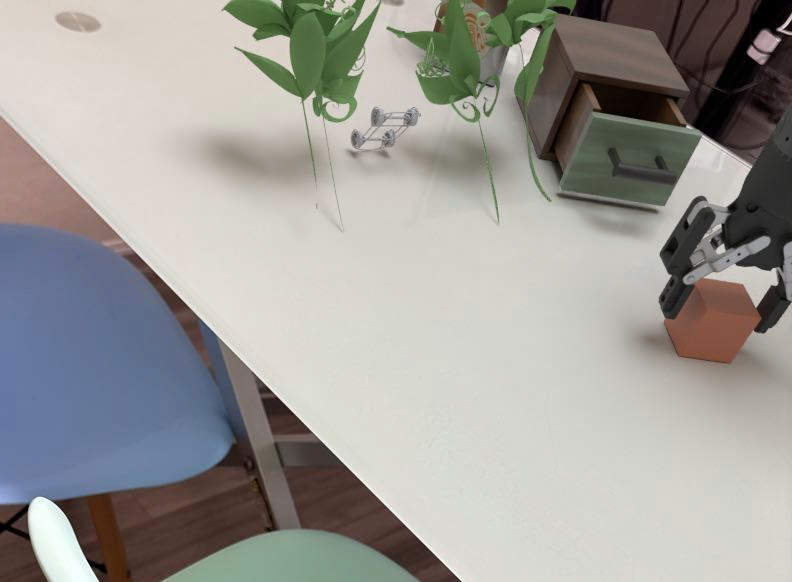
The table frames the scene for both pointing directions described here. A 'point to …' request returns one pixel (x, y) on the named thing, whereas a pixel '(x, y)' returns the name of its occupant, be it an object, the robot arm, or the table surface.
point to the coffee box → (479, 35)
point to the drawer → (623, 143)
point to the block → (714, 321)
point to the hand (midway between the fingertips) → (711, 320)
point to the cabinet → (595, 71)
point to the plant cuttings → (341, 46)
